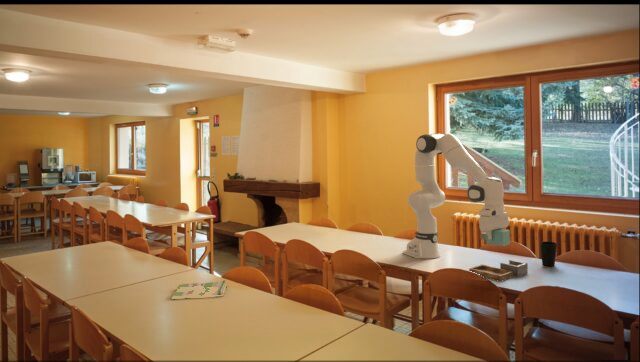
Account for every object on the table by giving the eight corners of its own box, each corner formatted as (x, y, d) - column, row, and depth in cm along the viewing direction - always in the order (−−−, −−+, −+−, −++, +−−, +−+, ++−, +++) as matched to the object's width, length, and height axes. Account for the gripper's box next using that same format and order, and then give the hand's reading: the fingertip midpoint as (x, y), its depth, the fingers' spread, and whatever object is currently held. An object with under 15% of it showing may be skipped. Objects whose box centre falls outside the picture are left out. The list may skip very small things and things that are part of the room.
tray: (469, 273, 213) (469, 268, 212) (482, 269, 219) (482, 264, 219) (500, 281, 199) (500, 276, 199) (513, 276, 205) (513, 271, 205)
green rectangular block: (479, 242, 213) (478, 228, 213) (485, 240, 217) (485, 227, 217) (503, 246, 203) (502, 231, 203) (510, 244, 206) (509, 230, 206)
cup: (558, 267, 217) (559, 244, 216) (542, 267, 218) (542, 244, 218) (553, 263, 224) (554, 241, 224) (538, 263, 226) (538, 241, 225)
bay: (500, 272, 212) (500, 263, 211) (510, 269, 217) (510, 259, 217) (517, 276, 204) (517, 266, 204) (527, 273, 210) (527, 263, 209)
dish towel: (223, 298, 189) (222, 290, 189) (170, 301, 187) (169, 293, 187) (227, 286, 206) (227, 279, 206) (179, 289, 204) (179, 281, 204)
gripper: (500, 207, 217) (500, 234, 218) (476, 212, 205) (477, 240, 206) (511, 208, 212) (512, 235, 213) (488, 213, 200) (489, 242, 201)
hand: (494, 238), depth 209 cm, fingers closed on green rectangular block, 6 cm apart
